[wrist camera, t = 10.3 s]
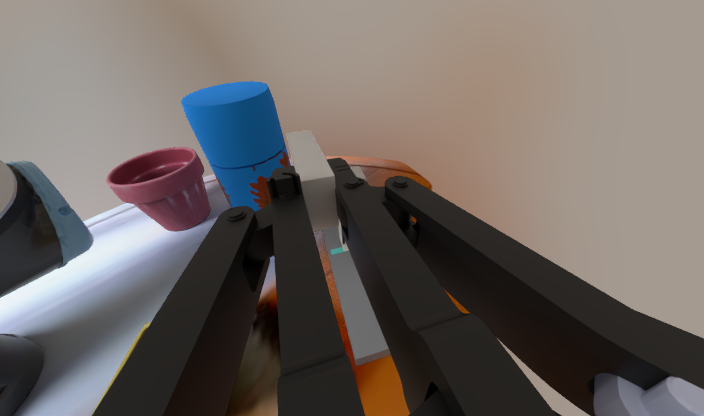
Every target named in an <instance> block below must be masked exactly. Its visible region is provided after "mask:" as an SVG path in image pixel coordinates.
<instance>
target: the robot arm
mask: <svg viewBox="0 0 704 416" xmlns="http://www.w3.org/2000/svg"><path fill="white" fill-rule="evenodd" d="M287 138H288V143H289V149H290V153H291V159H292V164H293V166H288V167H282V168H276V169H274V171H273V172H272V173H271V176H270V177H269V178H267V181H266V183H267V187H268V190H269V194H270V198H271V203H270V204H269V205H268V206H266V207H265V208H263V209H260V210H258V211H255V212H254V210H253V209H252V208H251V207H248V206H238V207H233V208H230V209H228V210H226V211H225V212H223V213H222V214H221V215H220V216H219V217H218V219H217V220H216V222H215V223H214V225H213V227H212V228H211V230H210V231H209V233H208V234H207V236H206V238H205V239H204V241H203V242H202V244H201V245H200V247H199V248H198V250H197V252H196V253H195V255H194V256H193V258H192V259H191V261H190V263H189V264H188V266H187V267H186V269H185V270H184V272H183V274H182V275H181V277H180V278H179V280H178V281H177V283H176V284H175V286H174V288H173V289H172V291H171V292H170V294H169V295H168V297H167V299H166V300H165V302H164V303H163V305H162V306H161V308H160V310H159V311H158V313H157V314H156V316H155V317H154V319H153V320H152V322H151V324H150V325H149V327H148V328H147V330H146V331H145V333H144V335H143V336H142V338H141V339H140V341H139V342H138V344H137V346H136V347H135V349H134V350H133V352H132V353H131V355H130V356H129V358H128V360H127V361H126V363H125V364H124V366H123V367H122V369H121V371H120V372H119V374H118V375H117V377H116V378H115V380H114V382H113V383H112V385H111V386H110V388H109V389H108V391H107V392H106V394H105V396H104V397H103V399H102V400H101V402H100V403H99V405H98V407H97V408H96V410H95V411H94V413H93V414H92V416H225V415H226V412H227V408H228V405H229V401H230V398H231V395H232V391H233V388H234V384H235V381H236V377H237V374H238V370H239V367H240V363H241V360H242V356H243V353H244V350H245V346H246V343H247V339H248V336H249V332H250V329H251V325H252V322H253V318H254V315H255V311H256V308H257V305H258V301H259V298H260V294H261V291H262V287H263V284H264V280H265V277H266V273H267V270H268V267H269V263H270V257H272V256H274V257H275V273H276V289H277V305H278V322H279V338H280V354H281V375H280V377H279V379H278V386H277V396H278V416H365V414H364V410H363V406H362V403H361V399H360V395H359V392H358V388H357V385H356V381H355V377H354V374H353V370H352V367H351V363H350V360H349V357H348V355H347V354H346V351H345V348H344V345H343V341H342V337H341V334H340V330H339V326H338V323H337V319H336V315H335V311H334V308H333V304H332V300H331V296H330V293H329V289H328V285H327V282H326V278H325V274H324V270H323V267H322V263H321V259H320V255H319V252H318V248H317V244H316V241H315V237H314V233H313V232H314V231H319V230H323V229H328V228H333V227H337V226H339V220H340V223H341V230H342V242H343V244H345V242H346V244H347V247H348V249H349V252H350V254H351V257H352V259H353V262H354V264H355V267H356V269H357V272H358V274H359V277H360V279H361V282H362V284H363V286H364V289H365V291H366V294H367V296H368V299H369V301H370V304H371V306H372V309H373V311H374V314H375V316H376V319H377V321H378V324H379V326H380V329H381V331H382V334H383V336H384V338H385V341H386V343H387V346H388V348H389V351H390V353H391V356H392V358H393V361H394V363H395V366H396V368H397V371H398V373H399V376H400V379H401V382H402V386H403V392H404V396H405V400H406V404H407V407H408V409H409V412H410V415H409V416H561V415H560V414H558V413H556V412H555V411H553V410H552V409H551V408H550V406H549V405H548V404H547V402H546V401H545V400H544V399H543V397H542V396H541V395H540V393H539V392H538V391H537V390H536V388H535V387H534V386H533V384H532V383H531V382H530V381H529V379H528V378H527V377H526V375H525V374H524V373H523V372H522V370H521V369H520V368H519V366H518V365H517V364H516V363H515V361H514V360H513V359H512V357H511V356H510V355H509V354H508V352H507V351H506V350H505V348H504V347H503V346H502V345H501V343H500V342H499V341H498V339H499V340H500V341H501V342H502V343H503V344H504V345H505V346H506V347H507V348H508V349H509V350H510V351H512V352H513V353H514V354H515V355H516V356H517V357H518V358H519V359H520V360H521V361H522V362H523V363H525V364H526V365H527V366H528V367H529V368H530V369H531V370H532V371H533V372H534V373H536V374H537V375H538V376H539V377H540V378H541V379H542V380H544V381H545V382H546V383H547V384H548V385H549V386H550V387H552V388H553V389H554V390H556V391H557V392H558V393H559V394H561V395H562V396H563V397H565V398H566V399H567V400H569V401H570V402H571V403H573V404H574V405H575V406H577V407H578V408H580V409H581V410H583V411H584V412H586V413H587V414H589V415H590V416H704V339H703V338H701V337H699V336H696V335H693V334H691V333H689V332H686V331H683V330H682V329H679V328H677V327H674V326H672V325H669V324H667V323H664V322H662V321H659V320H657V319H655V318H652V317H650V316H647V315H645V314H642V313H640V312H637V311H635V310H633V309H631V308H629V307H627V306H626V305H624V304H623V303H621V302H619V301H617V300H616V299H614V298H612V297H610V296H609V295H607V294H606V293H604V292H602V291H600V290H599V289H597V288H595V287H593V286H592V285H590V284H589V283H587V282H585V281H583V280H582V279H580V278H578V277H577V276H575V275H573V274H572V273H570V272H568V271H566V270H565V269H563V268H561V267H560V266H558V265H556V264H555V263H553V262H551V261H550V260H548V259H546V258H544V257H543V256H541V255H539V254H538V253H536V252H534V251H533V250H531V249H529V248H528V247H526V246H524V245H522V244H521V243H519V242H517V241H516V240H514V239H512V238H510V237H509V236H507V235H505V234H504V233H502V232H500V231H499V230H497V229H495V228H494V227H492V226H490V225H488V224H487V223H485V222H483V221H482V220H480V219H478V218H477V217H475V216H473V215H472V214H470V213H468V212H466V211H465V210H463V209H461V208H460V207H458V206H456V205H455V204H453V203H451V202H449V201H448V200H446V199H444V198H443V197H441V196H439V195H438V194H436V193H434V192H433V191H431V190H429V189H427V188H426V187H424V186H422V185H421V184H419V183H417V182H416V181H414V180H412V179H410V178H408V177H403V176H395V177H391V178H389V179H387V180H386V181H385V187H372V186H369V184H368V183H367V182H366V181H365V180H364V179H362V178H359V177H356V175H355V174H354V172H353V171H352V169H351V168H350V167H349V166H348V164H347V162H346V161H345V160H343V159H341V158H334V159H328V160H326V158H325V156H324V154H323V153H322V151H321V149H320V147H319V145H318V143H317V141H316V139H315V137H314V136H313V133H312V132H311V130H305V131H298V132H290V133H287ZM412 216H413V217H414V218H415V219H416V220H417V221H416V223H414V222H413V221H412V220H411V218H412ZM92 244H93V236H92V234H91V233H90V231H89V230H88V228H87V227H86V225H85V224H84V223H83V222H82V220H81V219H80V218H79V216H78V215H77V214H76V213H75V212H74V210H73V209H71V208H70V205H69V204H68V203H67V202H66V200H65V199H64V198H63V196H62V195H61V194H60V193H59V191H58V190H57V189H56V188H55V186H54V185H53V184H52V183H51V182H50V180H49V179H48V178H47V177H46V176H45V175H44V174H43V172H42V171H41V170H40V169H39V168H38V167H37V166H36V165H35V164H33V163H32V162H28V161H20V162H9V163H3V162H2V161H0V298H1V297H3V296H5V295H7V294H9V293H11V292H13V291H15V290H16V289H18V288H20V287H22V286H24V285H26V284H28V283H30V282H32V281H34V280H36V279H38V278H40V277H42V276H44V275H46V274H48V273H49V272H51V271H53V270H55V269H57V268H61V267H63V266H65V265H66V264H67V263H68V262H69V261H70V260H72V259H74V258H76V257H77V256H79V255H81V254H83V253H84V252H86V251H87V250H89V249H90V247H91V246H92ZM442 287H443V288H444V289H445V290H446V291H447V292H448V293H449V294H450V295H451V296H452V297H453V298H455V299H456V300H457V301H458V302H459V303H460V304H461V305H462V306H463V307H464V308H465V309H466V310H467V311H469V312H470V313H471V314H464V313H462V312H461V311H460V310H459V309H458V308H457V307H456V306H455V304H454V303H453V301H452V300H451V299H450V297H449V296H448V294H447V293H446V292H445V290H444V289H443V288H442ZM496 337H497V338H498V339H497V338H496ZM42 364H43V351H42V349H41V347H40V346H39V345H38V344H36V343H34V342H32V341H30V340H28V339H26V338H24V337H22V336H18V335H14V334H0V416H11V415H12V414H13V413H14V412H15V411H16V409H17V408H18V407H19V406H20V404H21V403H22V402H23V400H24V399H25V398H26V396H27V395H28V393H29V392H30V390H31V389H32V387H33V385H34V384H35V382H36V380H37V378H38V376H39V373H40V371H41V368H42Z"/></svg>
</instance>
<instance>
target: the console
mask: <svg viewBox="0 0 704 416" xmlns="http://www.w3.org/2000/svg"><path fill="white" fill-rule="evenodd" d="M322 233H323V237H324V241H325V245H326V249H327V253H328V257H329V261H330V265H331V269H332V273H333V277H334V280H335V284H336V288H337V292H338V296H339V300H340V304H341V308H342V312H343V316H344V319H345V323H346V327H347V331H348V335H349V339H350V343H351V347H352V351H353V355H354V358H355V362H356V366H358V365H361V364H364V363H367V362H370V361H373V360H376V359H379V358H382V357H385V356H388V355H391V353H390V351H389V348H388V346H387V343H386V341H385V338H384V336H383V334H382V331H381V329H380V326H379V324H378V321H377V319H376V316H375V314H374V311H373V309H372V306H371V304H370V301H369V299H368V296H367V294H366V291H365V289H364V286H363V284H362V282H361V279H360V277H359V274H358V272H357V269H356V267H355V264H354V262H353V259H352V257H351V254H350V252H349V251H345V252H344V250H343V247H342V244H341V241H340V237H339V230H338V226H337V227H333V228H328V229H323V230H322Z"/></svg>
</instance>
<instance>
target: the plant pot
mask: <svg viewBox="0 0 704 416" xmlns="http://www.w3.org/2000/svg"><path fill="white" fill-rule="evenodd" d="M203 173H204V167H203V165H202V163H201V160H200V158H199V157H198V155H197V153H196V152H195V151H194V150H193V149H190V148H186V147H173V148H165V149H160V150H156V151H152V152H148V153H145V154H142V155H139V156H137V157H134V158H132V159H130V160H128V161H126V162H124V163H122V164H120V165H119V166H117V167H116V168H114V169H113V170H112V171H111V172H110V173H109V174H108V176H107V179H106V182H107V184H108V185H109V186H110V188H111V189H112V190H113V191H114V193H115V194H116V195H117V196H118V197H119V198H120V199H121V200H122V201H124V202H126V203H132V204H134V205H135V206H136V207H138V208H139V209H140V210H142V211H143V212H144V213H146V214H147V215H148V216H149V217H151V218H152V219H153V220H155V221H156V222H157V223H159V224H160V225H161V226H163V227H164V228H165V229H167V230H169V231H182V230H186V229H189V228H191V227H194V226H196V225H197V224H199V223H201V222H202V221H203V220H204V219H205V218H206V217H207V216H208V215H209V213H210V206H209V202H208V197H207V193H206V189H205V185H204V181H203V178H202V175H203Z"/></svg>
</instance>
